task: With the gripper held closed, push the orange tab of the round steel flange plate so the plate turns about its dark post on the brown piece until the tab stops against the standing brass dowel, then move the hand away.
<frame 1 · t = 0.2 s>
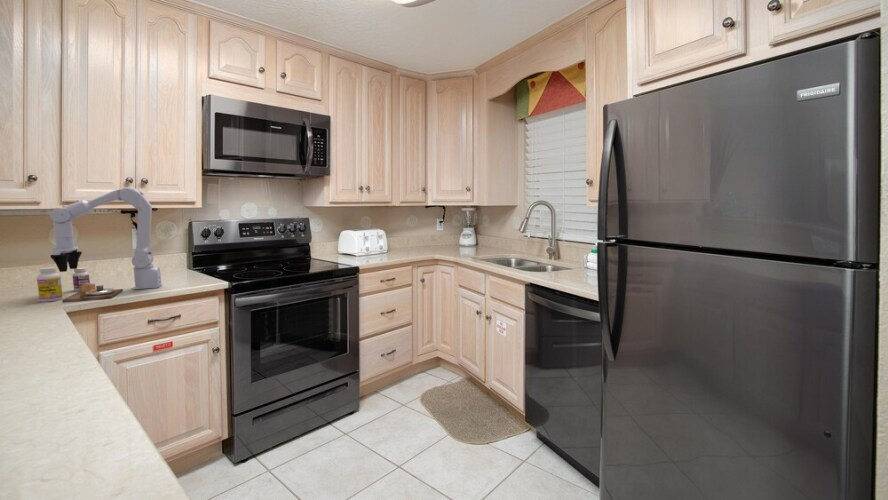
hand: (68, 270, 171), 10 cm above the counter, tool pointing down, fingers open, 7 cm apart
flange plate: (96, 288, 167), point 3 cm above the counter, hinge at -40.0°
brown piece: (94, 296, 166), on the counter
supplement bottle: (51, 300, 160), on the counter
pill bottle: (82, 290, 179), on the counter
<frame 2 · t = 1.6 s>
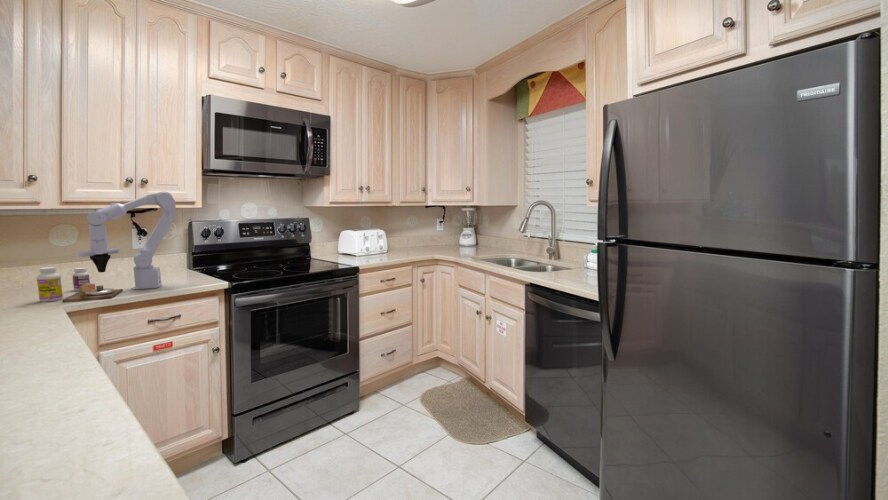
hand: (101, 272, 173), 9 cm above the counter, tool pointing down, fingers closed
nothing on the counter moved.
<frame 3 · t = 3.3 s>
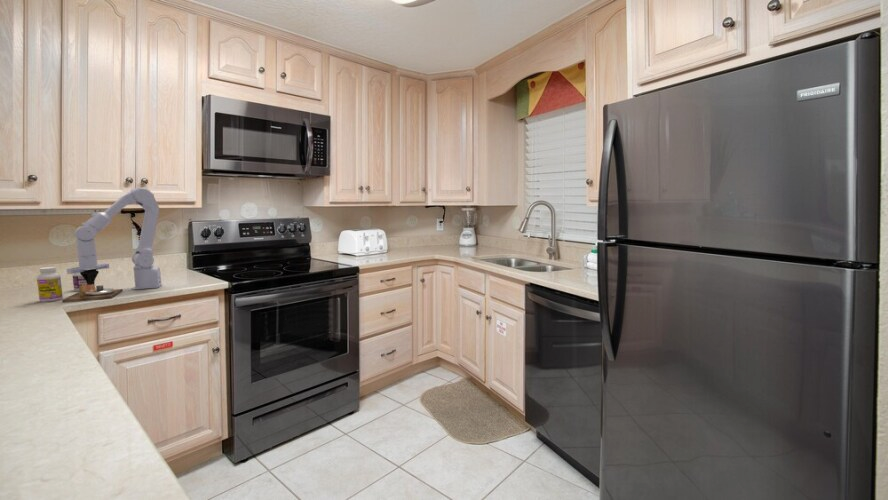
hand: (91, 288, 169), 3 cm above the counter, tool pointing down, fingers closed, pressing on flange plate
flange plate: (96, 288, 167), point 3 cm above the counter, hinge at -37.3°, touching gripper
everything else where it was.
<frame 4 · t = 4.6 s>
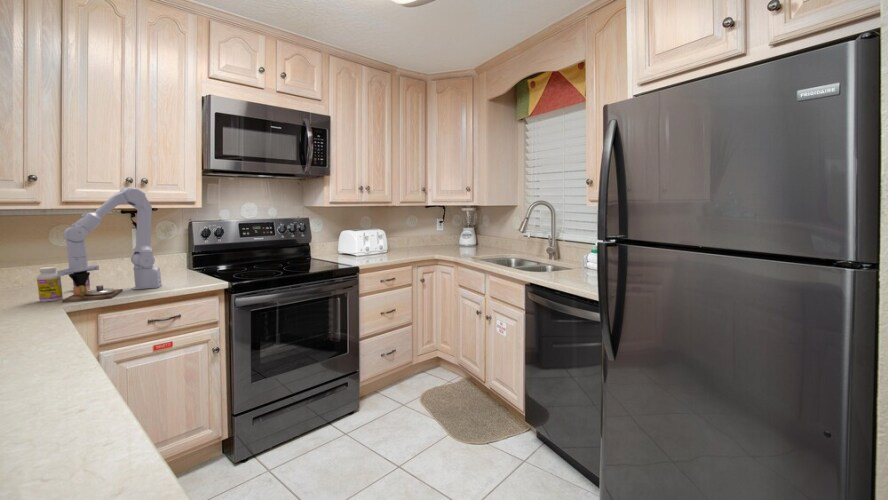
hand: (81, 290, 166), 3 cm above the counter, tool pointing down, fingers closed
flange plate: (94, 289, 166), point 3 cm above the counter, hinge at 4.1°, touching gripper
everything else where it was.
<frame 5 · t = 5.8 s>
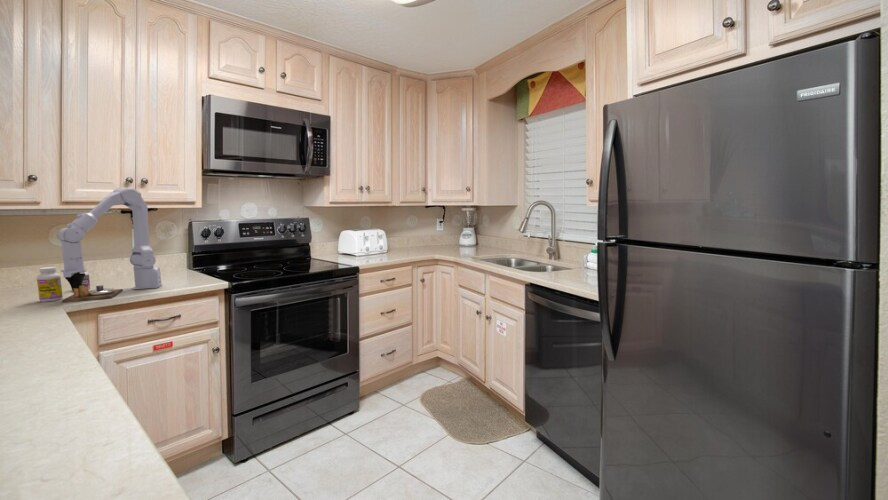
hand: (77, 292, 162), 3 cm above the counter, tool pointing down, fingers closed, pressing on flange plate
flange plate: (94, 289, 165), point 3 cm above the counter, hinge at 34.9°, touching gripper, brown piece
everything else where it was.
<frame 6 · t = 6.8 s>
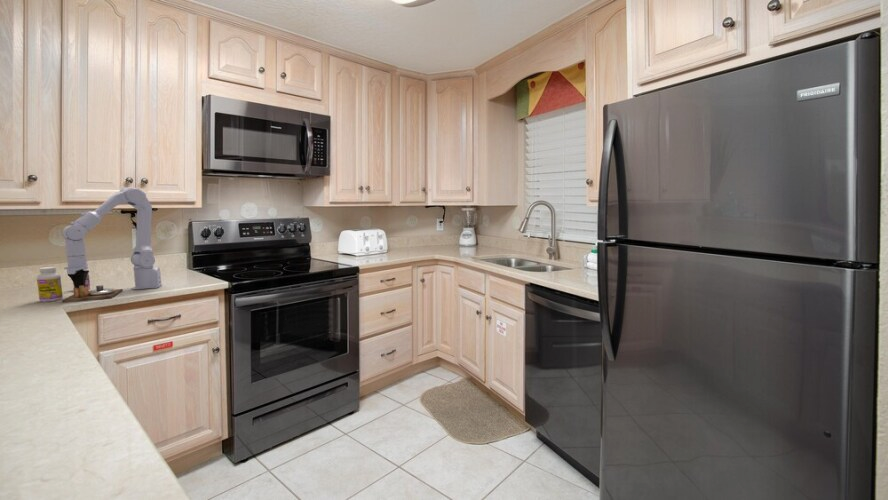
hand: (80, 289, 165), 3 cm above the counter, tool pointing down, fingers closed
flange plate: (94, 289, 165), point 3 cm above the counter, hinge at 34.9°, touching brown piece
everything else where it was.
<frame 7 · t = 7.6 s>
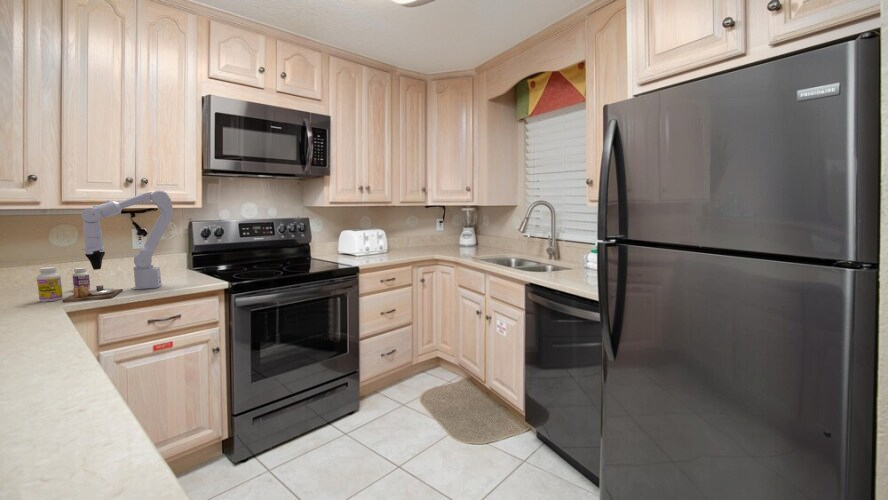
hand: (97, 269, 173), 10 cm above the counter, tool pointing down, fingers closed
nothing on the counter moved.
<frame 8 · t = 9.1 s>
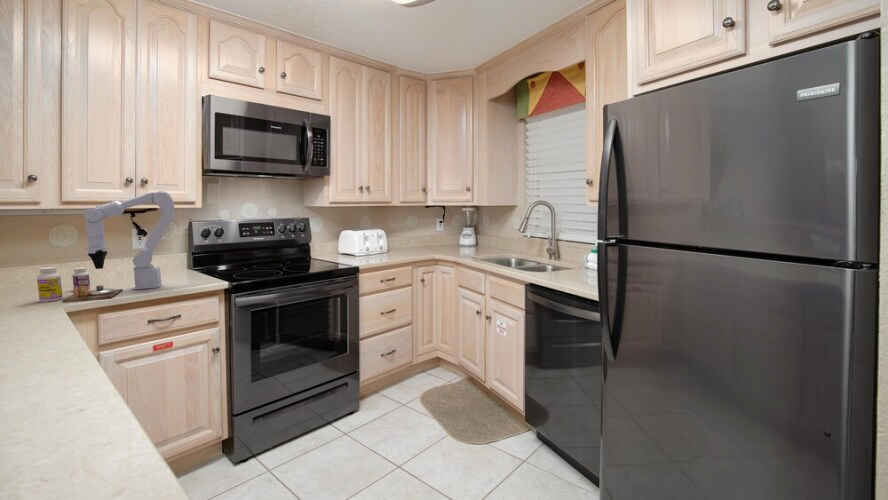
hand: (99, 268, 174), 10 cm above the counter, tool pointing down, fingers closed
nothing on the counter moved.
at the end: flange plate at +35° (first picture: -40°) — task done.
